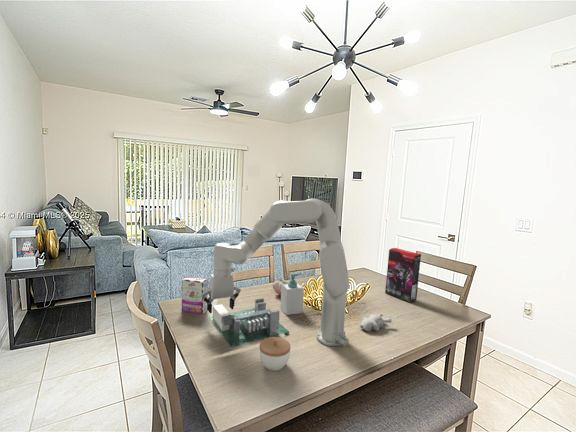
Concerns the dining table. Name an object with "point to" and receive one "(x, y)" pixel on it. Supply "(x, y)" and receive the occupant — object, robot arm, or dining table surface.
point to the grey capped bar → (242, 317)
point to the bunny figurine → (374, 322)
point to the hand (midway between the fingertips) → (220, 310)
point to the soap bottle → (292, 296)
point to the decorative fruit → (278, 285)
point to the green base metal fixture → (253, 326)
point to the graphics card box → (403, 274)
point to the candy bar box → (194, 295)
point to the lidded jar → (274, 352)
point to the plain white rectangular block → (220, 316)
